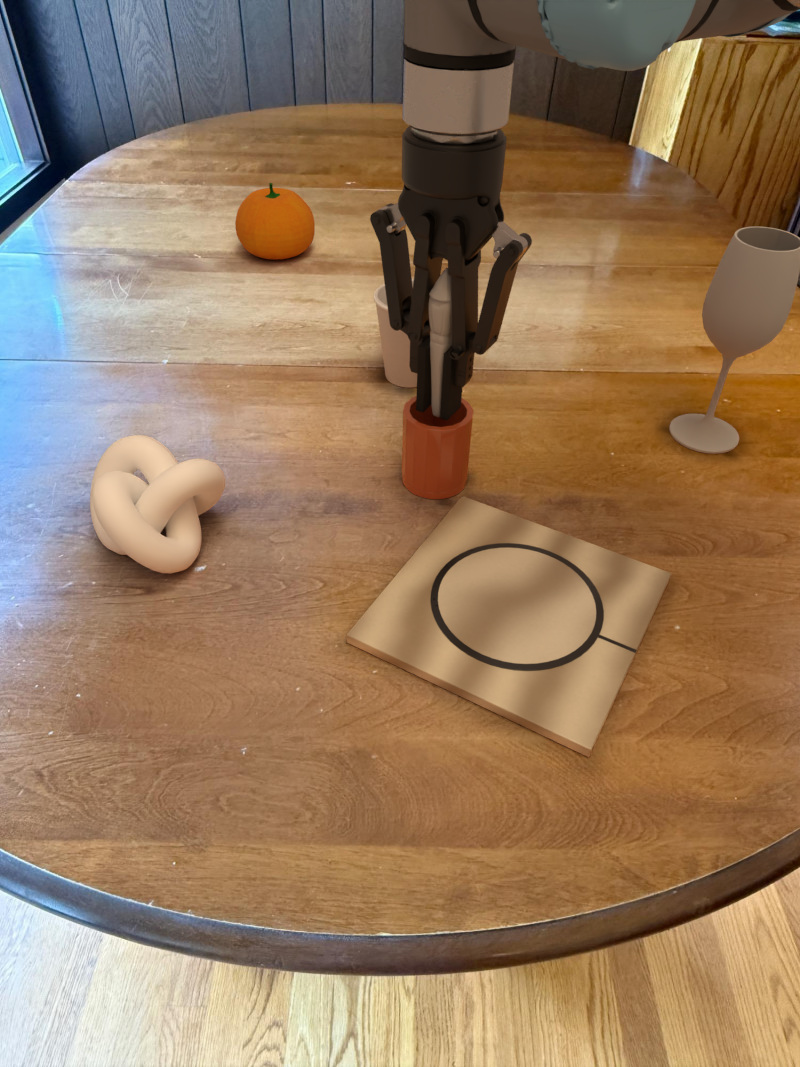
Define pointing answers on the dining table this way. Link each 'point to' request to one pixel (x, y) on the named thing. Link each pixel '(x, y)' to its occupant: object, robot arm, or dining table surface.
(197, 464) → the beige decorative knot
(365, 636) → the drawing board
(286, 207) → the fruit
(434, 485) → the pen pot
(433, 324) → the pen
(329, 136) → the dining table surface
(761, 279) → the wineglass
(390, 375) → the dixie cup
